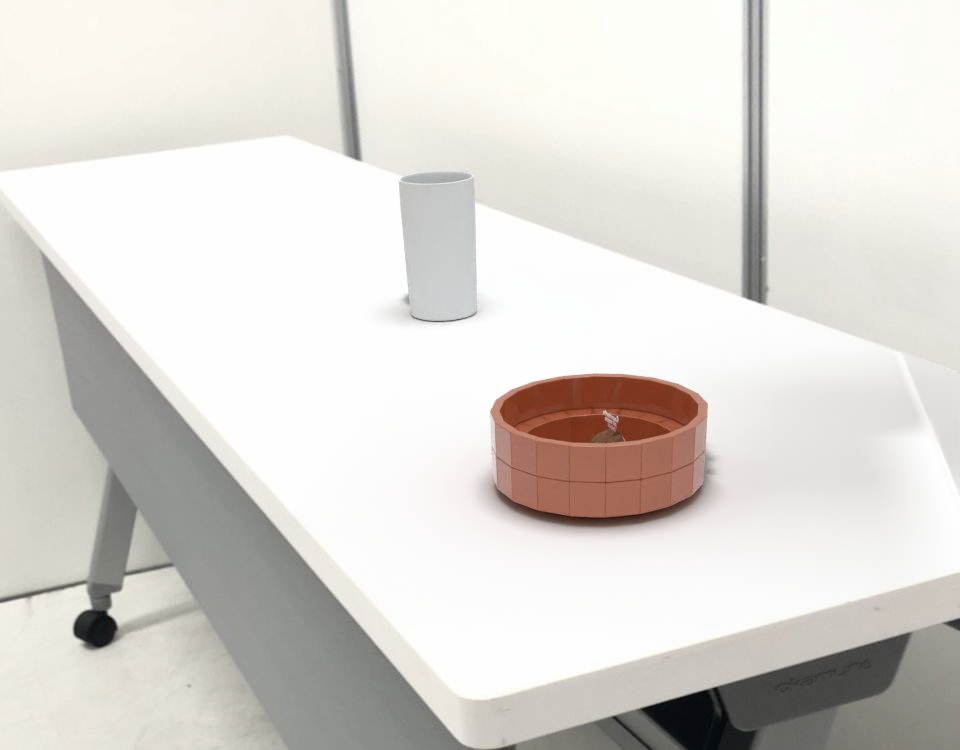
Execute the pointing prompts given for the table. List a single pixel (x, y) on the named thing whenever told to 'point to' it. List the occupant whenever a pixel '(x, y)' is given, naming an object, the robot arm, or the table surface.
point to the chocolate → (608, 432)
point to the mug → (440, 243)
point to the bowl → (598, 444)
